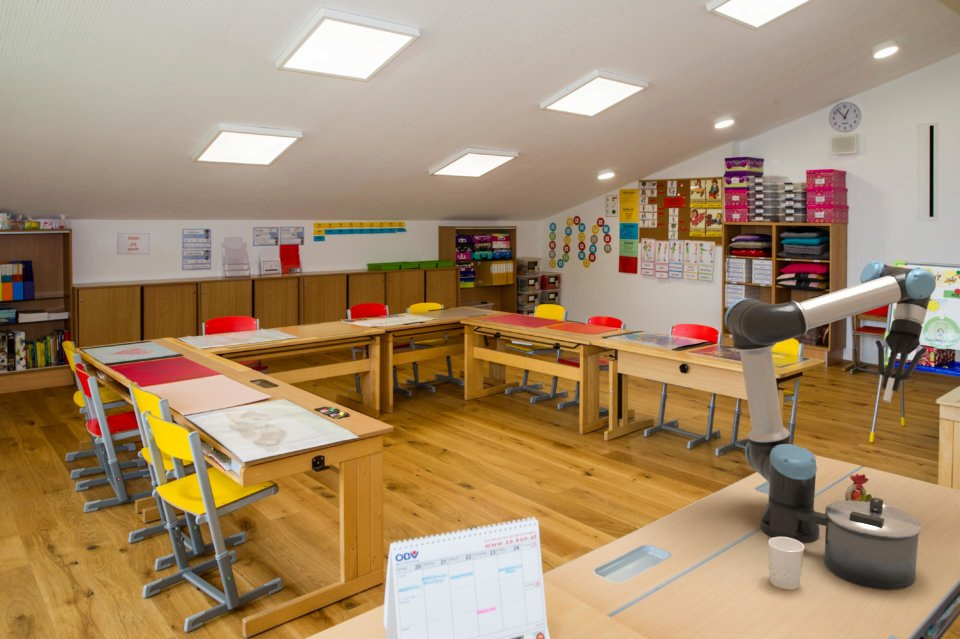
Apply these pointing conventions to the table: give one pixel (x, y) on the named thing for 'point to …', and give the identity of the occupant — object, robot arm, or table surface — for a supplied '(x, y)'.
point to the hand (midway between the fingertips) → (886, 401)
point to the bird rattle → (851, 490)
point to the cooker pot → (866, 555)
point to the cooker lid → (873, 518)
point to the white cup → (785, 562)
